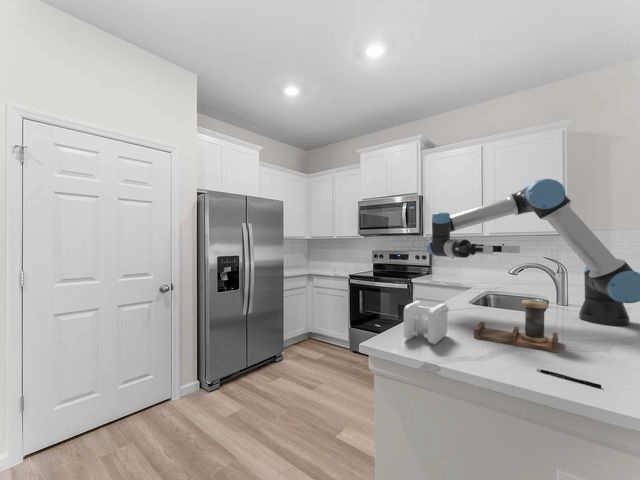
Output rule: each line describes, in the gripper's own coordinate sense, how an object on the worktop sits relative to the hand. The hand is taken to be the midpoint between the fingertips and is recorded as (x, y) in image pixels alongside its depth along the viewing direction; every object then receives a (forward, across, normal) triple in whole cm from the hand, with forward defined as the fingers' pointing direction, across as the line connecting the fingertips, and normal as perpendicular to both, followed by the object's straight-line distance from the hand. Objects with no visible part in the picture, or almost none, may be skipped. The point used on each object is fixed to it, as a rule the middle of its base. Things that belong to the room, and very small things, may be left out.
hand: (506, 249), depth 108 cm
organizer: (-8, +28, -30) cm, 42 cm away
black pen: (+29, +18, -30) cm, 46 cm away
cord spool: (+10, 0, -29) cm, 30 cm away
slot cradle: (+5, +3, -30) cm, 31 cm away
